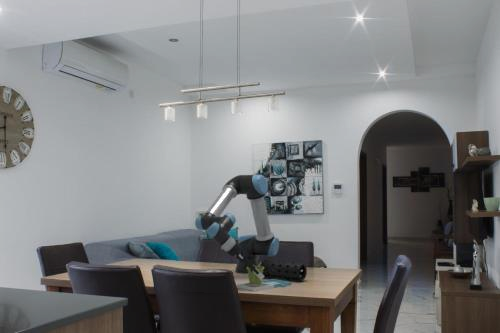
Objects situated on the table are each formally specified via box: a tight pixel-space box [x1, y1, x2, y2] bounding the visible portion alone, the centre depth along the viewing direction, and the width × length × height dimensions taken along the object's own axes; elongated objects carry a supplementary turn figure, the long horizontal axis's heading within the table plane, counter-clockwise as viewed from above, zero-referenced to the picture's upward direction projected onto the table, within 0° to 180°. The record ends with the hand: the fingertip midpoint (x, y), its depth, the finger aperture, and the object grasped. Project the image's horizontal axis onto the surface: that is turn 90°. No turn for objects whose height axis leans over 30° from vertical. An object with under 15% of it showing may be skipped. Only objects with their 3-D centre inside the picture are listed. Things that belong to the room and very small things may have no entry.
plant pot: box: [247, 266, 264, 286], centre depth 266 cm, size 9×9×9 cm
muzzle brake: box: [258, 259, 308, 282], centre depth 291 cm, size 10×28×10 cm, turn 55°
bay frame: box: [236, 278, 292, 292], centre depth 269 cm, size 18×27×2 cm
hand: (261, 276), depth 266 cm, fingers closed on plant pot, 9 cm apart
